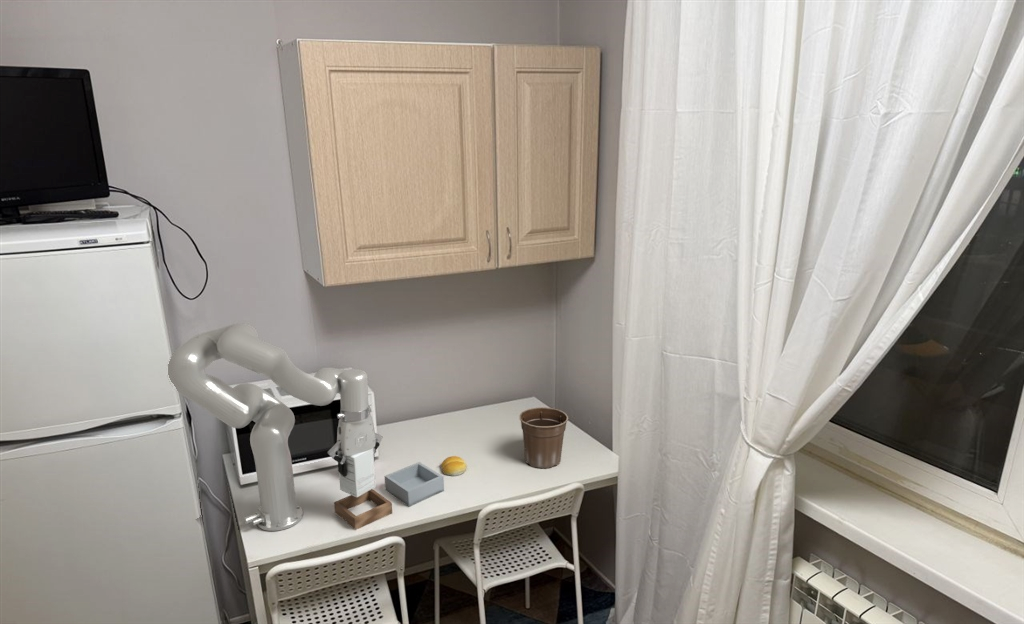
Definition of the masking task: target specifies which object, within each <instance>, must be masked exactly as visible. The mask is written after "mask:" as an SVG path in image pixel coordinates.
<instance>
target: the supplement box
mask: <svg viewBox="0 0 1024 624" xmlns="http://www.w3.org/2000/svg"><path fill="white" fill-rule="evenodd" d="M338 454H339V451H338V450H337V455H338ZM374 455H375V454H374V452H373V448H372V449H370V450H367V451H364V452H361V453H358V454H355V455H352V456H349V457H347V458H346V460H345V463H346V467H347V476H345V477H344V476H343V475H341V474H340V473H339V472H338V478H339V479H338V480H339V490H341V492H344V493H347V495H349V496H350V495H352V496H354V497H359V496H360V495H362V494H364V493H366V492H367V491H369V490H371V489H373V490H374V489H375V488H376V475H375V473H376V472H375V462H374ZM342 456H343V454H342Z"/></svg>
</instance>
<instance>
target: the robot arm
mask: <svg viewBox="0 0 1024 624" xmlns="http://www.w3.org/2000/svg"><path fill="white" fill-rule="evenodd" d="M170 358H171V359H170ZM170 358H169V360H170V361H169V360H168V362H169V364H168V363H167V366H168V375H169V378H170V380H171V382H172V383H173V384H174V386H175V387H176V389H177V391H178V392H177V391H176V392H177V393H179V394H180V395H181V396H183V397H185V398H186V399H188V400H190V401H192V402H193V403H195V404H196V405H197V406H199V407H201V408H202V409H204V410H205V411H206V412H208V413H209V414H210V415H212V416H214V417H215V418H217V419H218V420H219V421H221V422H223V423H224V424H226V425H227V426H229V427H231V428H234V429H242V428H245V427H246V426H248V425H249V424H250V423H251V422H252V421H253V422H254V423H255V424H254V425H253V428H252V429H251V432H250V437H249V441H250V447H251V450H252V454H253V459H254V463H255V464H254V465H255V471H256V476H257V477H256V479H257V487H258V495H259V501H260V502H259V503H260V506H259V507H257V511H255V512H254V513H253V514H250V515H247V516H245V517H243V520H244V523H245V525H249V524H250V523H251V524H252V525H253V526H256V525H257V527H258V528H259V529H261V530H264V531H269V532H277V531H282V530H286V529H289V528H291V527H293V526H295V525H296V524H298V523H299V522H300V521H301V520H302V519H303V516H304V511H303V508H302V507H301V506H299V505H298V504H297V499H296V489H295V480H294V479H295V477H294V472H293V471H294V470H293V461H292V456H291V451H290V447H289V436H290V435H291V432H292V430H293V429H294V427H295V423H296V419H295V415H294V412H293V411H292V409H290V407H289V406H287V404H285V403H284V402H282V401H281V400H279V399H278V398H276V397H275V396H273V395H272V394H271V393H269V392H268V391H266V390H264V389H263V388H262V387H260V386H258V385H256V384H253V383H250V382H249V383H248V382H247V383H246V382H245V383H244V382H243V383H240V384H237V385H235V386H233V387H232V386H230V385H229V384H227V383H226V382H224V381H223V380H221V379H220V378H218V377H216V376H213V375H210V374H207V373H206V372H205V370H206V368H207V367H209V366H210V365H211V363H213V362H215V361H218V360H221V359H223V360H225V361H228V362H230V363H232V364H235V365H237V366H239V367H242V368H245V369H247V370H249V371H251V372H254V373H257V374H259V375H261V376H264V377H266V378H268V379H269V380H271V381H272V382H273V383H274V384H275V385H276V386H278V388H280V389H281V390H283V392H285V393H286V394H288V395H289V396H292V397H293V398H295V399H298V400H300V401H303V402H305V403H308V404H310V405H313V406H320V407H322V406H327V405H329V404H331V403H333V401H334V400H335V398H336V397H337V394H339V396H340V409H339V410H340V412H339V413H337V414H336V417H337V419H339V420H338V423H337V424H338V426H337V434H336V435H337V436H336V443H334V444H333V446H332V447H330V449H329V450H328V451H327V454H328V455H329V456H330V458H332V459H333V460H334V461H336V462H337V470H338V471H337V472H338V474H339V473H340V474H341V475H343V476H344V477H345V476H347V467H346V463H345V460H346V458H347V457H349V456H352V455H355V454H358V453H361V452H364V451H367V450H370V449H372V448H373V452H374V463H375V459H376V458H375V454H376V453H377V450H378V448H379V446H380V443H381V442H382V440H383V438H384V437H383V436H382V435H381V434H379V433H376V431H375V425H374V420H373V417H372V414H370V413H369V386H368V385H369V383H368V378H369V377H368V374H367V372H366V371H364V370H362V369H360V368H352V369H350V368H349V369H342V368H336V367H335V368H334V367H322V368H320V369H319V370H317V371H316V372H315V373H314V376H313V375H312V374H310V373H307V372H305V371H304V370H301V369H300V368H298V367H297V366H295V364H294V363H293V362H292V360H291V359H290V357H289V355H288V353H287V352H286V350H285V349H283V348H282V347H280V346H277V345H274V344H272V343H270V342H267V341H265V340H263V339H260V338H259V333H258V331H257V330H256V328H254V327H253V326H252V325H250V324H248V323H244V322H240V323H239V322H238V323H233V324H231V325H227V326H223V327H220V328H217V329H212V330H209V331H206V332H202V333H200V334H199V333H198V334H197V335H195V336H193V337H191V338H190V339H188V340H187V341H185V342H184V343H183V344H182V345H180V346H179V347H177V349H175V351H174V352H173V353H172V355H171V356H170ZM168 375H167V376H168ZM338 451H339V454H338V453H337V452H338ZM336 453H337V454H336ZM342 454H343V456H342Z"/></svg>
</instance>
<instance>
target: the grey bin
mask: <svg viewBox="0 0 1024 624" xmlns="http://www.w3.org/2000/svg"><path fill="white" fill-rule="evenodd" d="M444 479H445V478H444V475H442V474H440V473H439V472H437V471H436V470H433V469H432V468H430V467H428V466H426V465H425V464H423V463H422V462H421V461H418V462H416V463H413V464H411V465H409V466H406V467H403V468H401V469H398V470H396V471H393V472H391V473H389V474H386V475H384V488H385V491H386V492H387V493H389V494H390V495H391V496H393V497H394V498H396V500H398V501H400V502H401V503H403V504H404V505H406V506H407V507H409V508H411V507H412V506H414V505H417V504H418V503H421V502H422V501H425V500H427V499H429V498H432V497H434V496H436V495H438V494H440V493H442V492H444V491H445V480H444Z"/></svg>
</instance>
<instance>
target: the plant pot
mask: <svg viewBox="0 0 1024 624" xmlns="http://www.w3.org/2000/svg"><path fill="white" fill-rule="evenodd" d="M518 418H519V421H520V426H521V430H522V437H523V438H522V439H523V449H524V451H523V452H524V460H525V462H526V464H529V466H531V467H533V468H537V469H550V468H552V467H554V466H555V467H556V466H558V465H559V464H560V463H561V461H562V452H563V443H564V436H565V431H566V429H567V422H568V420H569V416H568V415H567V413H566V412H564V411H563V410H560V409H559V408H558V409H557V408H552V407H544V406H543V407H540V406H539V407H531V408H528V409H526V410H523V411H522V412H521V413H520V414H519V416H518Z"/></svg>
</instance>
